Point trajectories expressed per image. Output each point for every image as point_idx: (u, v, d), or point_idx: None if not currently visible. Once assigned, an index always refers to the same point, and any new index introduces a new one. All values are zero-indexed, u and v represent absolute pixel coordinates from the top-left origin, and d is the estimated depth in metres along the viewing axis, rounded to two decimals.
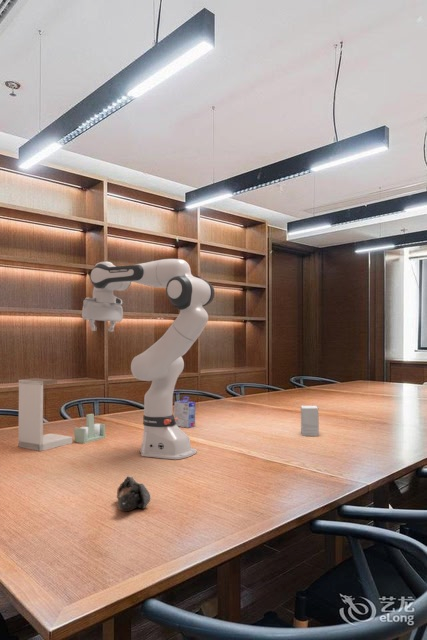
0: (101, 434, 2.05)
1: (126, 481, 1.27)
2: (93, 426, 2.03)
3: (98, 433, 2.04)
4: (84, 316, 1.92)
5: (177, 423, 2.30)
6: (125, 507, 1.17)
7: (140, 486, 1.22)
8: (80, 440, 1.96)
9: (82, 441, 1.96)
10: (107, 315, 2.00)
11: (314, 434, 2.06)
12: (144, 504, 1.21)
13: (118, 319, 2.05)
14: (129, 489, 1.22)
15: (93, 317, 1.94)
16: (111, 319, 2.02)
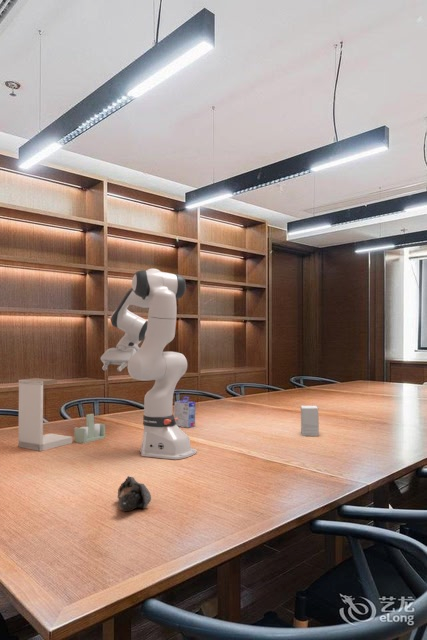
0: (101, 434, 2.05)
1: (127, 481, 1.27)
2: (93, 426, 2.03)
3: (98, 433, 2.04)
4: None
5: (177, 423, 2.30)
6: (126, 507, 1.17)
7: (141, 486, 1.22)
8: (80, 440, 1.96)
9: (82, 441, 1.96)
10: (118, 356, 2.16)
11: (314, 434, 2.06)
12: (145, 504, 1.22)
13: (127, 359, 2.12)
14: (130, 489, 1.22)
15: (105, 358, 2.19)
16: (120, 358, 2.14)
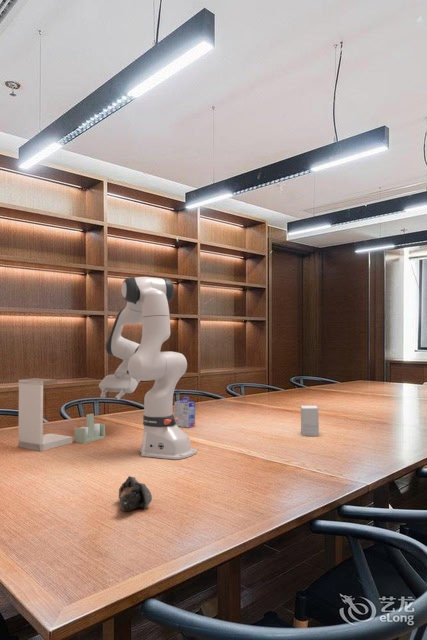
0: (101, 434, 2.05)
1: (128, 481, 1.27)
2: (93, 426, 2.03)
3: (98, 433, 2.04)
4: None
5: (177, 423, 2.30)
6: (126, 507, 1.17)
7: (142, 486, 1.23)
8: (80, 440, 1.96)
9: (82, 441, 1.96)
10: (116, 383, 2.15)
11: (314, 434, 2.06)
12: (145, 504, 1.22)
13: (125, 387, 2.10)
14: (131, 489, 1.23)
15: (103, 385, 2.18)
16: (118, 386, 2.12)
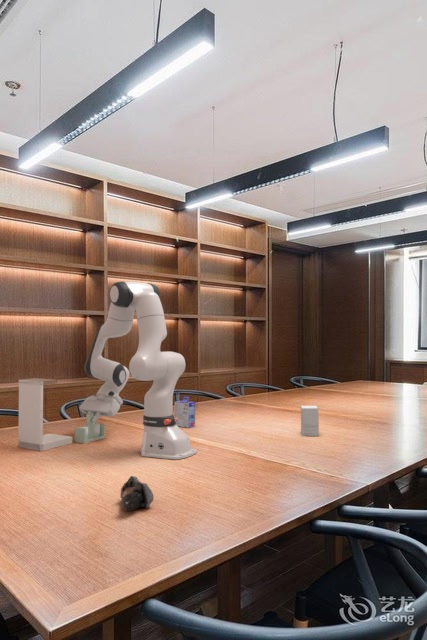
0: (101, 434, 2.05)
1: (130, 480, 1.27)
2: (93, 426, 2.03)
3: (98, 433, 2.04)
4: None
5: (177, 423, 2.30)
6: (128, 506, 1.17)
7: (143, 486, 1.23)
8: (80, 440, 1.96)
9: (82, 441, 1.96)
10: (98, 406, 2.04)
11: (314, 434, 2.06)
12: (147, 504, 1.22)
13: (106, 410, 2.00)
14: (132, 489, 1.23)
15: (84, 407, 2.08)
16: (99, 409, 2.02)
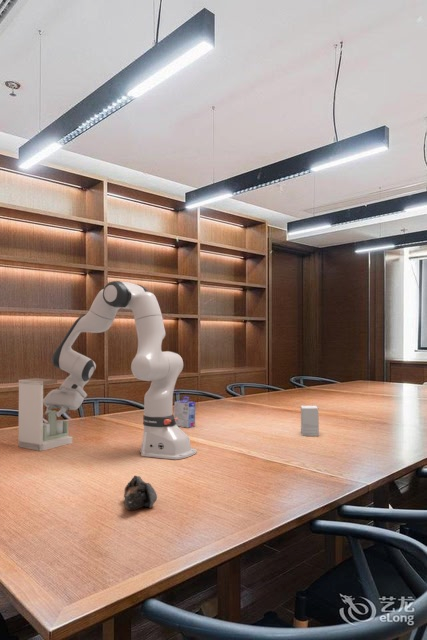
0: (64, 431, 1.99)
1: (133, 480, 1.28)
2: (55, 423, 1.97)
3: (61, 430, 1.98)
4: None
5: (177, 423, 2.30)
6: (131, 506, 1.18)
7: (147, 485, 1.23)
8: None
9: (43, 438, 1.90)
10: (60, 399, 1.99)
11: (314, 434, 2.06)
12: (150, 503, 1.22)
13: (68, 403, 1.94)
14: (136, 488, 1.23)
15: (46, 401, 2.02)
16: (61, 403, 1.96)
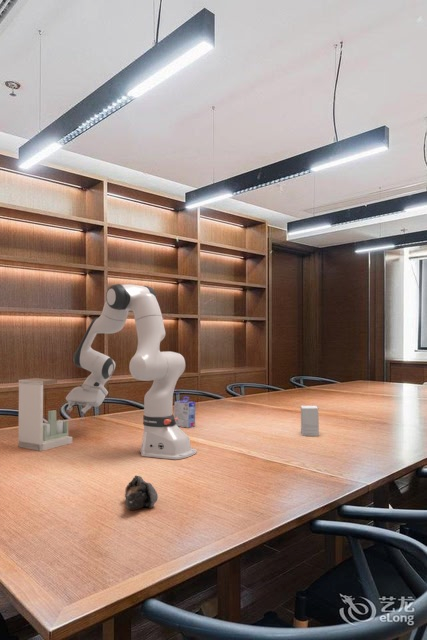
0: (64, 431, 1.99)
1: (134, 480, 1.28)
2: (55, 423, 1.97)
3: (61, 430, 1.98)
4: None
5: (177, 423, 2.30)
6: (132, 506, 1.18)
7: (147, 485, 1.23)
8: None
9: (43, 438, 1.90)
10: (83, 396, 2.09)
11: (314, 434, 2.06)
12: (151, 503, 1.22)
13: (91, 400, 2.05)
14: (137, 488, 1.23)
15: (70, 398, 2.13)
16: (84, 400, 2.07)
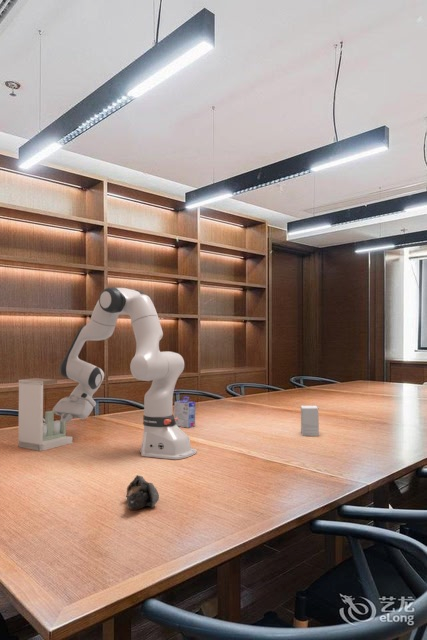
0: (61, 432, 1.98)
1: (136, 480, 1.28)
2: (53, 423, 1.96)
3: (58, 431, 1.97)
4: None
5: (177, 423, 2.30)
6: (133, 506, 1.18)
7: (149, 485, 1.23)
8: None
9: None
10: (70, 408, 2.03)
11: (314, 434, 2.06)
12: (152, 503, 1.22)
13: (78, 412, 1.99)
14: (138, 488, 1.23)
15: (57, 409, 2.06)
16: (71, 411, 2.01)
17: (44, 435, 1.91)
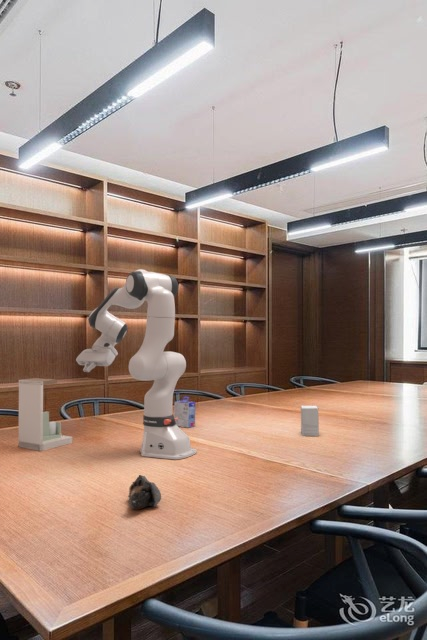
0: (57, 433, 1.96)
1: (138, 479, 1.28)
2: (48, 424, 1.94)
3: (53, 431, 1.95)
4: None
5: (177, 423, 2.30)
6: (135, 505, 1.18)
7: (151, 485, 1.23)
8: None
9: None
10: (93, 357, 2.12)
11: (314, 434, 2.06)
12: (155, 503, 1.22)
13: (101, 360, 2.08)
14: (140, 487, 1.24)
15: (80, 359, 2.16)
16: (95, 359, 2.10)
17: None
